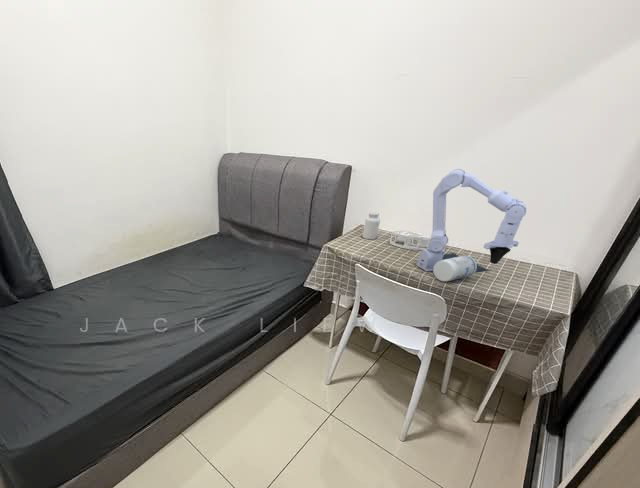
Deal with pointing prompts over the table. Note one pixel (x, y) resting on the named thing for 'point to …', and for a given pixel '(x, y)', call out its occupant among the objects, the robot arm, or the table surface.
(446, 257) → the desk mat
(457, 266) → the supplement tub
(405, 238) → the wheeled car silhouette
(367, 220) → the pill bottle
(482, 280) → the table surface
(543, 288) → the table surface
